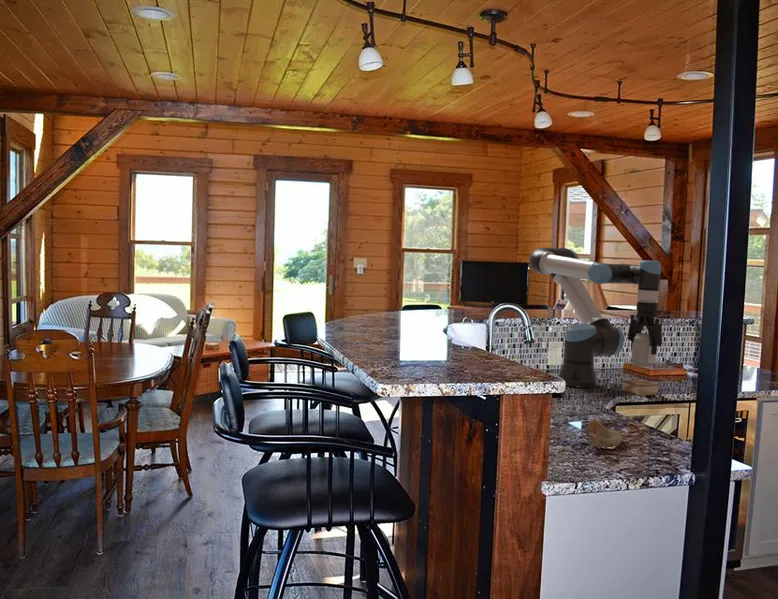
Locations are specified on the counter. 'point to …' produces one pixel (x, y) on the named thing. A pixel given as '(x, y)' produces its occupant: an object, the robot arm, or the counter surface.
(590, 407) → the counter surface
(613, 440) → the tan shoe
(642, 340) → the can
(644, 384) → the pedestal
